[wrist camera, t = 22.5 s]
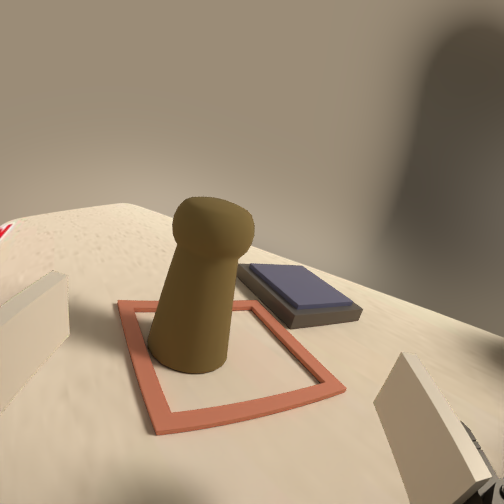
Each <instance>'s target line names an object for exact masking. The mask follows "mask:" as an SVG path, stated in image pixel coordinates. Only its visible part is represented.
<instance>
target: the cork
mask: <svg viewBox="0 0 504 504" xmlns="http://www.w3.org/2000/svg"><path fill="white" fill-rule="evenodd" d="M172 227H173V236H174V238H175V241H176V243H177V247H176V250H175V253H174V256H173V259H172V262H171V265H170V268H169V271H168V274H167V277H166V280H165V283H164V286H163V290H162V293H161V296H160V299H159V303H158V306H157V309H156V312H155V316H154V319H153V323H152V326H151V329H150V333H149V336H148V340H147V343H148V349H149V351H150V352H151V354H152V355H153V357H154V358H156V359H157V360H158V361H159V362H161V363H162V364H163V365H165V366H168V367H170V368H172V369H174V370H177V371H182V372H186V373H206V372H211V371H214V370H216V369H218V368H219V367H221V366H222V365H223V364H224V362H225V361H226V358H227V350H228V341H229V333H230V324H231V316H232V307H233V299H234V290H235V282H236V274H237V266H238V259H239V258H240V257H241V256H243V255H244V254H245V253H246V252H247V251H248V249H249V247H250V246H251V244H252V241H253V237H254V222H253V219H252V215H251V214H250V213H249V212H248V211H247V210H245V209H244V208H242V207H240V206H238V205H236V204H234V203H231V202H229V201H226V200H222V199H218V198H212V197H191V198H188V199H186V200H184V201H183V202H182V203H181V204H180V206H179V207H178V208H177V210H176V212H175V214H174V218H173V224H172Z"/></svg>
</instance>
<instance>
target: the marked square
mask: <svg viewBox="0 0 504 504" xmlns="http://www.w3.org/2000/svg"><path fill="white" fill-rule="evenodd" d="M158 303H159V301H130V300H118V308H119V313H120V317H121V321H122V325H123V329H124V333H125V337H126V341H127V345H128V349H129V352H130V356H131V360H132V363H133V367H134V370H135V373H136V377H137V380H138V383H139V386H140V390H141V393H142V396H143V399H144V402H145V405H146V408H147V411H148V413H149V416H150V419H151V422H152V425H153V427H154V430H155V433H156V435H164V434H172V433H179V432H186V431H193V430H199V429H205V428H211V427H216V426H221V425H226V424H231V423H236V422H241V421H245V420H250V419H254V418H258V417H263V416H267V415H271V414H275V413H278V412H282V411H286V410H289V409H293V408H297V407H300V406H303V405H307V404H310V403H313V402H317V401H320V400H323V399H326V398H329V397H332V396H335V395H338V394H341V393H344V392H345V391H346V389H347V388H346V387H345V386H344V385H343V384H342V383H341V382H340V381H338V380H337V379H336V378H335V377H334V376H333V375H332V374H331V373H330V372H329V371H328V370H327V369H326V368H325V367H324V366H323V365H322V364H321V363H320V362H319V361H318V360H317V359H316V358H315V357H314V356H313V355H312V354H311V353H310V352H309V351H307V350H306V349H305V348H304V347H303V346H302V345H301V344H300V343H299V342H298V341H297V340H296V339H295V338H294V337H293V336H292V335H291V334H290V333H289V332H288V331H287V330H286V329H285V328H284V327H283V326H282V325H281V324H280V323H279V322H278V321H277V320H276V319H275V318H274V317H273V316H272V315H271V314H270V313H269V312H268V311H267V310H266V309H265V308H264V307H263V306H262V305H261V304H260V303H259V302H258V301H257V300H242V301H233V307H232V311H234V310H252V311H253V312H254V313H255V314H256V315H257V316H258V318H259V319H260V320H261V321H262V322H263V323H264V324H265V325H266V326H267V327H268V328H269V329H270V330H271V332H272V333H273V334H274V335H275V336H276V337H277V338H278V339H279V340H280V341H281V342H282V343H283V344H284V345H285V346H286V347H287V348H288V350H289V351H290V352H291V353H292V354H293V355H294V356H295V357H296V358H297V359H298V360H299V361H300V362H301V363H302V364H303V365H304V366H305V367H306V368H307V369H308V370H309V371H310V372H311V373H312V374H313V375H314V377H315V378H316V379H317V380H318V381H319V382H320V383H321V384H318V385H314V386H310V387H306V388H303V389H299V390H295V391H291V392H287V393H282V394H278V395H274V396H269V397H264V398H260V399H255V400H250V401H245V402H240V403H234V404H229V405H223V406H217V407H211V408H204V409H197V410H190V411H182V412H174V413H171V411H170V408H169V406H168V404H167V401H166V399H165V396H164V394H163V391H162V389H161V386H160V384H159V381H158V378H157V376H156V373H155V370H154V368H153V365H152V362H151V360H150V357H149V354H148V351H147V348H146V345H145V342H144V340H143V337H142V334H141V331H140V327H139V324H138V321H137V318H136V315H135V312H156V309H157V306H158Z"/></svg>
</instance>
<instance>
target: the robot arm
mask: <svg viewBox="0 0 504 504" xmlns="http://www.w3.org/2000/svg"><path fill="white" fill-rule="evenodd" d="M69 335H70V330H69V309H68V275H65V274H62V273H59V272H56V271H53V270H52V271H51V272H49V273H48V274H46V275H45V276H43V277H42V278H40V279H39V280H37V281H36V282H34V283H33V284H31V285H30V286H28V287H27V288H25V289H24V290H22V291H21V292H20V293H18V294H17V295H15V296H14V297H12V298H11V299H10V300H8V301H7V302H5V303H4V304H3V305H1V306H0V415H1V414H2V413H3V411H4V410H5V409H6V408H7V406H8V405H9V404H10V403H11V401H12V400H13V399H14V398H15V397H16V395H17V394H18V393H19V392H20V391H21V389H22V388H23V387H24V386H25V385H26V384H27V382H28V381H29V380H30V379H31V378H32V377H33V375H34V374H35V373H36V372H37V371H38V370H39V369H40V367H41V366H42V365H43V364H44V363H45V362H46V361H47V360H48V358H49V357H50V356H51V355H52V354H53V353H54V352H55V351H56V350H57V348H58V347H59V346H60V345H61V344H62V343H63V342H64V341H65V340H66V339H67V338H68V336H69ZM373 403H374V406H375V408H376V411H377V413H378V416H379V419H380V421H381V424H382V426H383V429H384V431H385V434H386V437H387V439H388V442H389V445H390V447H391V450H392V453H393V455H394V458H395V461H396V464H397V466H398V469H399V472H400V475H401V478H402V480H403V483H404V486H405V489H406V492H407V495H408V498H409V501H410V504H504V478H500V479H499V478H498V477H497V475H496V473H495V471H494V470H493V468H492V466H491V464H490V462H489V461H488V459H487V457H486V455H485V454H484V452H483V450H481V447H480V445H479V444H478V442H476V439H475V437H474V435H473V434H472V432H471V430H470V429H469V428H468V427H467V426H466V425H465V424H464V423H463V422H461V421H460V420H459V418H458V417H457V415H456V414H455V412H454V410H453V409H452V407H451V406H450V404H449V403H448V401H447V399H446V398H445V396H444V395H443V393H442V392H441V390H440V389H439V387H438V386H437V384H436V382H435V381H434V379H433V378H432V376H431V375H430V373H429V372H428V370H427V369H426V367H425V366H424V365H423V363H422V362H421V360H420V359H419V357H418V356H417V354H415V353H407V352H401V353H400V355H399V357H398V359H397V361H396V363H395V365H394V367H393V368H392V370H391V372H390V374H389V376H388V378H387V379H386V381H385V383H384V385H383V386H382V388H381V390H380V392H379V393H378V395H377V397H376V398H375V400H374V402H373Z"/></svg>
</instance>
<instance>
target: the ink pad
mask: <svg viewBox="0 0 504 504" xmlns="http://www.w3.org/2000/svg"><path fill="white" fill-rule="evenodd" d="M236 276H237V277H238V278H239V279H240V280H241V281H242V282H243V283H244V284H245V285H246V286H247V287H248V288H249V289H250V290H251V291H252V292H253V293H254V294H255V295H256V296H257V297H258V298H259V299H260V300H261V301H262V302H263V303H264V304H265V305H266V306H267V307H268V308H269V309H270V310H271V311H272V312H273V313H274V314H275V315H276V316H277V317H278V318H279V319H280V320H282V321H283V322H284V323H285V324H286V325H287V326H288V327H289V328H290V329H296V328H305V327H313V326H321V325H329V324H337V323H344V322H351V321H358V320H359V318H360V315H361V313H362V310H363V309H362V308H361V307H360V306H358V305H357V304H355V303H354V302H353V301H352V300H350V299H349V298H348V297H346V296H345V295H343V294H342V293H340V292H339V291H338V290H336V289H335V288H333V287H332V286H330V285H329V284H327V283H326V282H325V281H323V280H322V279H320V278H319V277H317V276H316V275H315V274H313V273H312V272H310V271H309V270H307V269H306V268H304V267H303V266H296V265H274V264H252V263H250V264H238V267H237V274H236Z"/></svg>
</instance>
